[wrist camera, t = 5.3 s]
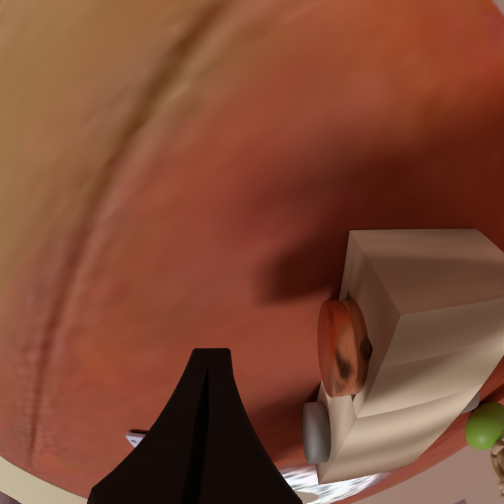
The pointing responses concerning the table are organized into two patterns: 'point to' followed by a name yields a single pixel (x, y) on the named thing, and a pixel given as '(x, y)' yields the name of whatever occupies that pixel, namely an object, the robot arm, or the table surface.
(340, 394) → the lynch pin
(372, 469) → the beige block with pegs
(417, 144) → the table surface
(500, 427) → the snail figurine
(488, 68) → the table surface
